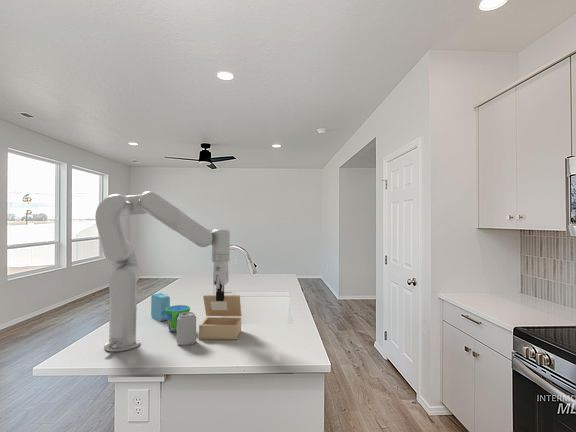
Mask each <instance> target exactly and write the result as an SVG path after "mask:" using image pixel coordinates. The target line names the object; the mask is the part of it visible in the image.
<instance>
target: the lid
mask: <svg viewBox="0 0 576 432" xmlns="http://www.w3.org/2000/svg"><path fill="white" fill-rule="evenodd" d="M202 297H203V303H204V304H203V305H204V310H205V316H206V317H242V305H241V304H242V303H241V296H240V295H237V294H236V295H232V294H229V295H226V294H224V301H216V294H214V295H213V294H203V296H202Z"/></svg>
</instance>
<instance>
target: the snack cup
mask: <svg viewBox="0 0 576 432" xmlns="http://www.w3.org/2000/svg"><path fill="white" fill-rule="evenodd" d="M183 312H191V307H190V306H189V305H185V304H178V305H176V304H175V305H170V307H167V308H166V313H167V320H166V321H167V327H168V331H169V332H171V333H177V318H178V317H179V314H180V313H183Z"/></svg>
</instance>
